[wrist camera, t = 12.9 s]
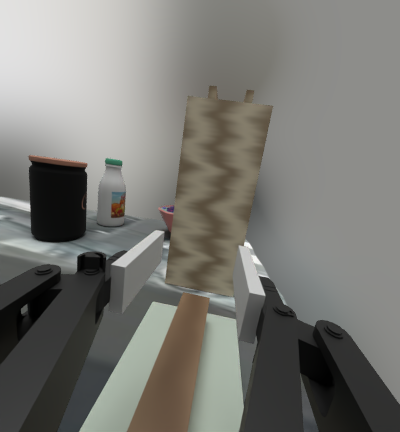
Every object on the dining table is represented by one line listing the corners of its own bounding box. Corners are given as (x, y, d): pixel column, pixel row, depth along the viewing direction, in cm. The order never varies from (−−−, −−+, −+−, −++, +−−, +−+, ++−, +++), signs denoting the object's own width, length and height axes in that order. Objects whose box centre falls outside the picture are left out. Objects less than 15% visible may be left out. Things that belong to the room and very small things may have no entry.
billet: (30, 730, 6) (25, 681, 6) (180, 315, 26) (183, 292, 25) (128, 784, 6) (135, 740, 5) (205, 321, 25) (209, 298, 25)
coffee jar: (91, 238, 47) (94, 164, 44) (35, 246, 40) (32, 156, 36) (78, 226, 54) (79, 161, 50) (28, 230, 46) (25, 154, 43)
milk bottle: (99, 227, 56) (102, 157, 52) (95, 220, 62) (97, 156, 58) (126, 226, 60) (131, 161, 56) (120, 219, 66) (123, 161, 62)
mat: (62, 468, 12) (62, 461, 12) (152, 305, 28) (153, 301, 28) (251, 526, 11) (253, 519, 11) (235, 323, 27) (235, 319, 27)
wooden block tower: (164, 283, 34) (189, 83, 27) (177, 261, 42) (197, 106, 36) (232, 297, 33) (275, 93, 26) (230, 271, 41) (262, 114, 35)
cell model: (228, 244, 59) (235, 208, 56) (167, 248, 49) (172, 204, 46) (201, 227, 73) (206, 198, 71) (149, 227, 63) (153, 193, 61)
